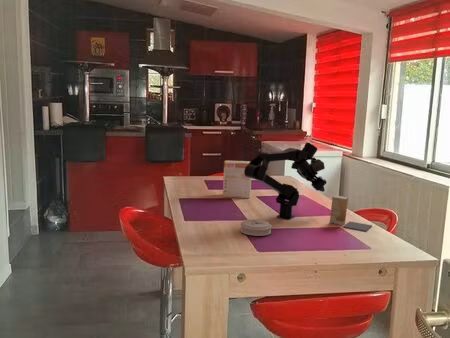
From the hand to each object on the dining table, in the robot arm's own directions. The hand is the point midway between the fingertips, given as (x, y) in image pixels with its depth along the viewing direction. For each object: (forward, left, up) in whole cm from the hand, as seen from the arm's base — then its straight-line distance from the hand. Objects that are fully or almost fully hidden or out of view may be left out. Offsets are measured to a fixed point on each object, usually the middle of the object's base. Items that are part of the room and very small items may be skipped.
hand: (318, 186), depth 222 cm
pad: (-15, -24, -12) cm, 31 cm away
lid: (-51, +8, -13) cm, 53 cm away
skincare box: (-15, -15, -13) cm, 25 cm away
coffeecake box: (+1, +47, -13) cm, 49 cm away
